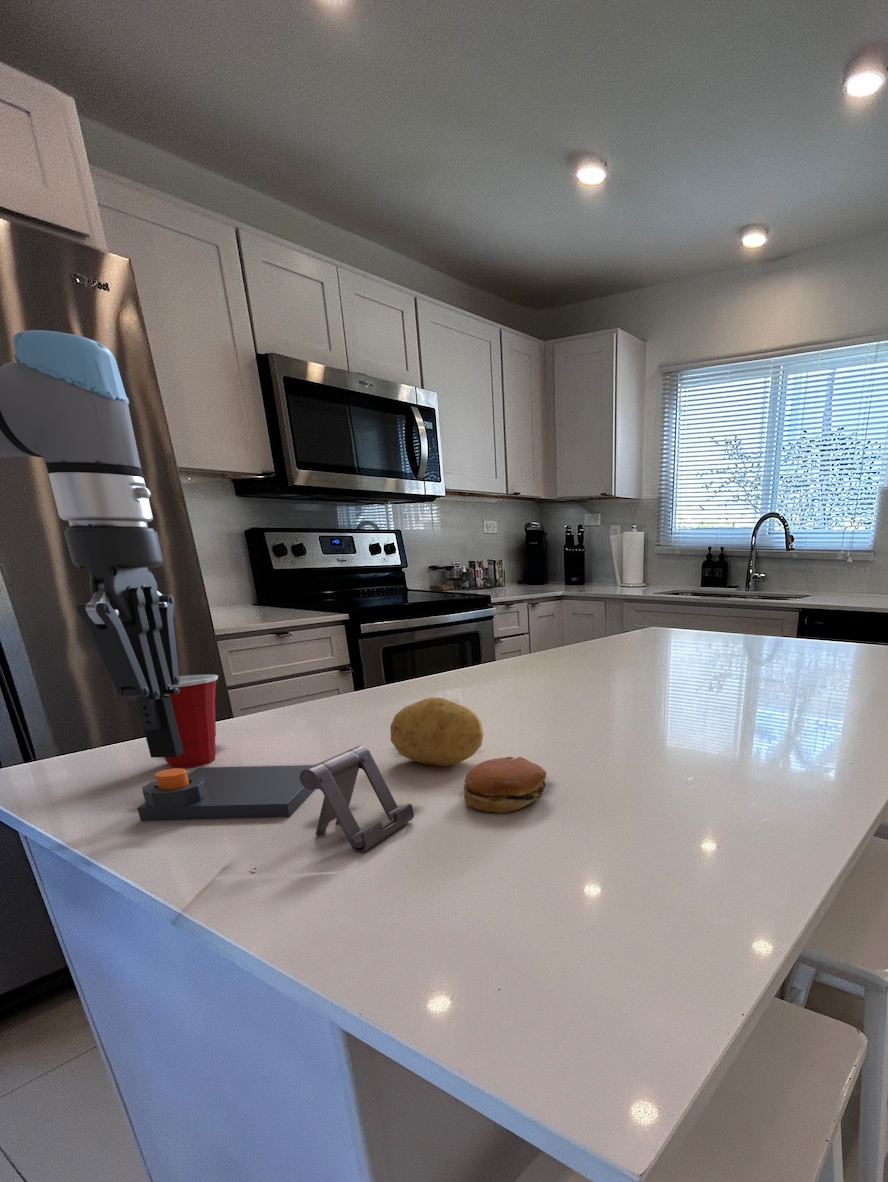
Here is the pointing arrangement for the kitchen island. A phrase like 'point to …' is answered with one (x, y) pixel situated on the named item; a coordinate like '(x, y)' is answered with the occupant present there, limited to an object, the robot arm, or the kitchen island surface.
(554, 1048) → the kitchen island surface
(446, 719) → the potato
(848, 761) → the kitchen island surface
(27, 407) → the robot arm
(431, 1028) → the kitchen island surface
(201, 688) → the plastic cup
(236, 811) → the scale
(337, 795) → the tablet stand
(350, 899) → the kitchen island surface
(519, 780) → the burger
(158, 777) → the button
